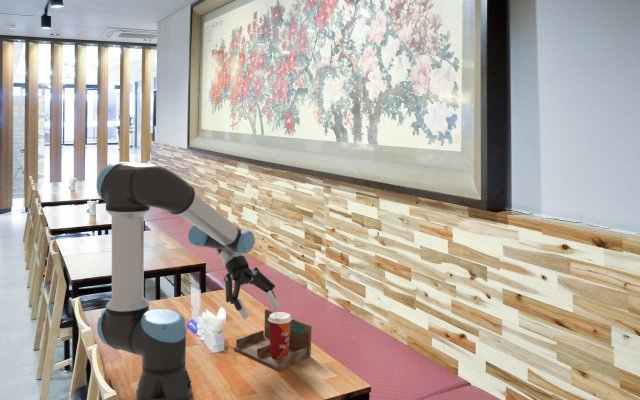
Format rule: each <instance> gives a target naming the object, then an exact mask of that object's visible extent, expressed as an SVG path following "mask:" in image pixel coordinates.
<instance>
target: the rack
mask: <svg viewBox="0 0 640 400" xmlns="http://www.w3.org/2000/svg"><path fill="white" fill-rule="evenodd" d="M275 312H276V310H272V309H269V308H265V309H264V329H262V330H258V331H255V332H253V333H250V334H247V335H244V336H242V337H239V338H236V339H235V341H236V342H235V343H236V344H235V346H234V347H233V351H236V352H238V353H240V354H242V355H244V356H247V358H250V359H252V360H255V361H257V362H259V363H260V364H263V365H265V366H267V367H270V368H271V369H274V370H276V371H280V370H283V369H285V368H287V367H290V366H291V365H294V364H296V363H298V362H301V361H303V360H306V359H307V358H310V357H312V356H311V354H312V353H311V351H312V329H313V328H312V324H310V323H307V322H304V321H302V320H300V319H296V318H295V317H292V316H291V318H292V320H291V323H290V337H289V350H288V355H287V356H284V357H282V358H280V359H279V360H276V359H273V358H272V357H271V349H270V329H269V321H268V318H269V316H270V314H272V313H275Z"/></svg>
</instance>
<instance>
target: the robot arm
mask: <svg viewBox="0 0 640 400" xmlns="http://www.w3.org/2000/svg"><path fill="white" fill-rule="evenodd" d="M96 191H97V192H96V193H97V194H98V196H99V197H100V199H101V200H103V201H104V202H105V211H106V212H107V214H109V215H110V216H111V299H110V300H109V301H108V302H107V303H106V305H105V309H104V310H102V312H101V314H100V315H101V316H99V318H98V320H97V323H96V324H97V326H96V327H97V328H96V329H97V335H98V337H99V339H100V340H101V342H102V343H103V344H104V345H106V346H109V347H111V348H112V349H114V350H121V351H124V352H127V353H129V354H130V353H131V354H134V355H138V356H141V360H142V362H141V363H142V365H141V366H142V369H141V370H142V371H141V374H140V377H139V380H138V383H137V386H136V389H135V399H136V400H188V399H189V398H190V397H192V393H193V384H192V381H191V378H190V375H189V372H188V370H187V366H186V365H187V364H186V363H187V362H186V357H187V356H186V353H187V347H186V346H187V342H186V341H187V336H186V335H187V328H186V320H185V318H184V316H183V315H182V314H181V313H179V312H177V311H175V310H173V309H172V310H171V309H167V308H164V309H162V308H155V309H150V307H149V306H150V303H149V301H148V300H147V298H145V296H144V285H145V284H144V282H145V281H144V274H145V273H144V270H145V269H144V263H145V262H144V261H145V260H144V259H145V257H144V256H145V255H144V252H145V248H144V247H145V246H144V245H145V241H144V238H145V237H144V236H145V215H147V213H149V211H150V208H157V209H161V210H163V211H166V212H167V213H169V214H171V215H174V216H180V217H182V218H183V219H185V220H186V221H187V222H189V223H190V224H192V226H190V227H189V230H188V235H187V238H188V241H189V242H190V243H191V245H193V246H194V247H195V246H197V247H203V248H209V249H214V250H215V249H216V250H215V251H217V253H218V255H219V257H220V259H221V262H222V263H223V264H224V267H225V269H226V271H227V273H226V275H224V277H223V280H224V283H225V301H226V303H230V304H231V305H234V308H235V310H236V311H238V312H239V314H240V317H241V319H243V321H245V320H246V319H247V318H248V317H249V316H250V313H248V310H247V308H246V306H245V305H244V303H243V300H242V299H241V298H239V295H240V290H241V286H244V285H248V284H249V285H253V286H255V287H256V288H258V289H259V290H261V291H263V292H265V294H264V295H265V296H266V299H267V301H268V302H269V304H270V305H271V309H273V310H272V311H276V310H277V309H278V308H279V307H280V305H279V302H278V301H277V299H276V295H275V293H274V291H273V290H274V289H275V287H276V285H275V284H274V283H273V282H272V281H271V280H270V279H269V278H268V277H266V276H265V275H264V274H263V273H262V272H261V271H260V270H259V268H258V267H257V266H255V267H254V268H253V269H251V268H250V267H249V262H248V261H247V259H246V257H245V255H244V254H248V253H250V252H251V251H252V250H253V248H254V245H255V240H256V239H255V235H254V233H253V232H252V231H250V230H248V229H247V230H246V229H241V228H239V227H238V226H237V225H235V224H234V222H231V221H230V220H229V219H228V218H226V217H225V216H224V215H223V214H221V213H220V212H219V211H218V210H216V209H215V208H214V207H212V206H211V205H210V204H209V203H207V202H206V200H204V198H201V197H200V196H199V195H197V194H196V191H195V188H194V187H193V186H192V185H191V184H189V182H188V181H186V180H185V179H183V178H182V177H180V176H179V175H177V174H176V173H174V172H172V171H171V170H170V169H167V168H165V167H163V166H161V165H157V164H152V163H141V162H140V163H139V162H131V161H130V162H129V161H117V162H116V161H115V162H112V163H109V164H107V165H105V167H104V168H103V169H102V170H101V171H100V173H99V175H98V177H97V180H96ZM233 281H234V284H233ZM233 285H234V286H233Z"/></svg>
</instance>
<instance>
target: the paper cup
mask: <svg viewBox="0 0 640 400" xmlns="http://www.w3.org/2000/svg"><path fill="white" fill-rule="evenodd" d="M291 317H292V316H291V314H290V313H288V312H283V311H275V313H272V314H270V316H269V318H268V321H269V329H270V349H271V357H272V358H273V359H276V360H279V359H280V358H282V357H284V356H287V355H288V350H289V337H290V323H291V320H292V318H293V317H292V318H291Z"/></svg>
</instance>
